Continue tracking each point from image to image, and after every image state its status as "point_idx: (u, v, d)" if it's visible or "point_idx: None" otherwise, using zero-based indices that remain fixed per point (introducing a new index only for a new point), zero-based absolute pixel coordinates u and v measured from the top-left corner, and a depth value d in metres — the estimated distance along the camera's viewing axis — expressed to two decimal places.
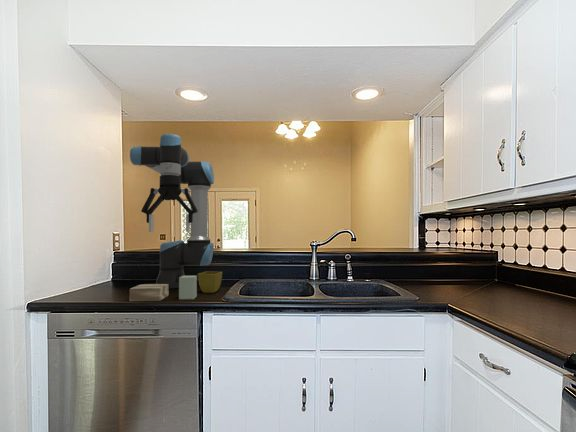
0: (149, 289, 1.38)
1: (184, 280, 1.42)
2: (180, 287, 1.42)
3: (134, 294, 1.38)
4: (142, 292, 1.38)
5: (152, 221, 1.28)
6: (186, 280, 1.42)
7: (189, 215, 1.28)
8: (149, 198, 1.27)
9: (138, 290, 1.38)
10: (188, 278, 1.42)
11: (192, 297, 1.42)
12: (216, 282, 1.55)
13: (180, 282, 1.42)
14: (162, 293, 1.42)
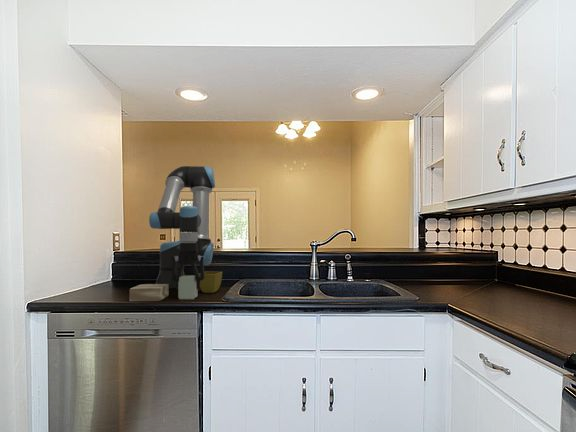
0: (149, 289, 1.38)
1: (184, 280, 1.42)
2: (180, 287, 1.42)
3: (134, 294, 1.38)
4: (142, 292, 1.38)
5: None
6: (186, 280, 1.42)
7: (197, 282, 1.44)
8: (174, 266, 1.44)
9: (138, 290, 1.38)
10: (188, 278, 1.42)
11: (192, 297, 1.42)
12: (216, 282, 1.55)
13: (180, 282, 1.42)
14: (162, 293, 1.42)
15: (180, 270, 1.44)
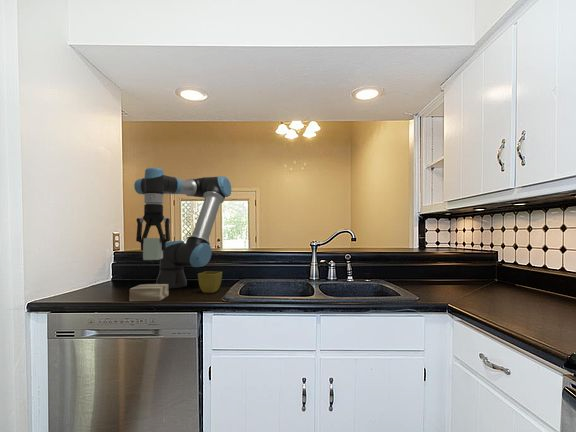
0: (149, 289, 1.38)
1: (149, 241, 1.42)
2: (144, 248, 1.42)
3: (134, 294, 1.38)
4: (142, 292, 1.38)
5: None
6: (151, 241, 1.42)
7: (162, 244, 1.45)
8: (138, 227, 1.44)
9: (138, 290, 1.38)
10: (153, 239, 1.42)
11: (157, 258, 1.42)
12: (216, 282, 1.55)
13: (145, 243, 1.42)
14: (162, 293, 1.42)
15: (145, 231, 1.44)
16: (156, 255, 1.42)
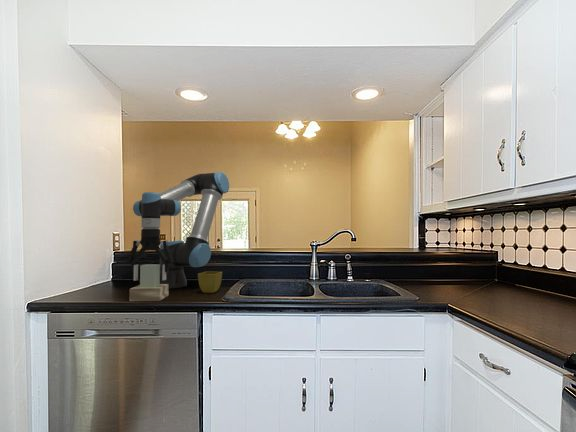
0: (149, 289, 1.38)
1: (145, 268, 1.41)
2: (141, 275, 1.41)
3: (134, 294, 1.38)
4: (142, 292, 1.38)
5: (136, 270, 1.44)
6: (147, 268, 1.41)
7: (165, 265, 1.44)
8: (133, 250, 1.43)
9: (138, 290, 1.38)
10: (149, 266, 1.41)
11: (153, 285, 1.41)
12: (216, 282, 1.55)
13: (141, 270, 1.41)
14: (162, 293, 1.42)
15: (138, 254, 1.43)
16: (153, 282, 1.41)
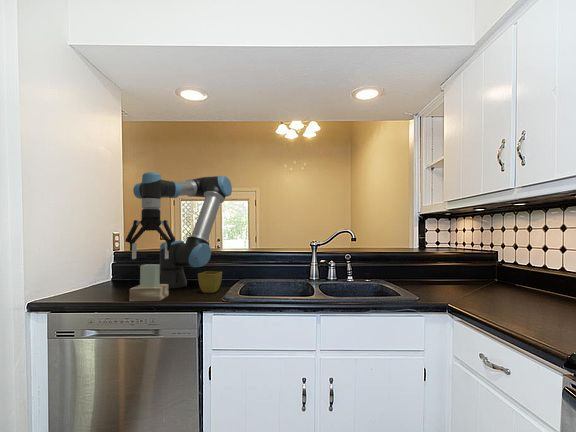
0: (149, 289, 1.38)
1: (145, 268, 1.41)
2: (141, 275, 1.41)
3: (134, 294, 1.38)
4: (142, 292, 1.38)
5: (135, 249, 1.45)
6: (147, 268, 1.41)
7: (167, 244, 1.45)
8: (132, 229, 1.44)
9: (138, 290, 1.38)
10: (149, 266, 1.41)
11: (153, 285, 1.41)
12: (216, 282, 1.55)
13: (141, 270, 1.41)
14: (162, 293, 1.42)
15: (137, 234, 1.44)
16: (153, 282, 1.41)
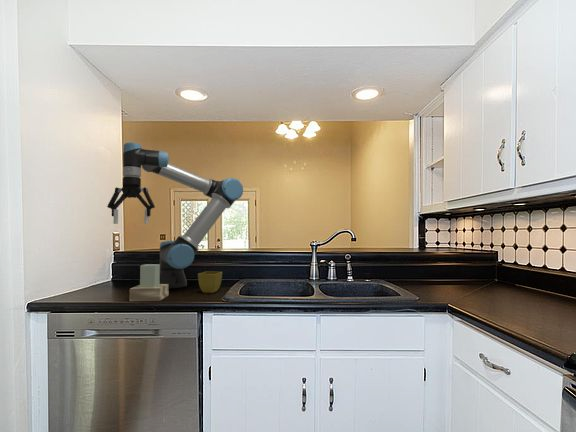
0: (149, 289, 1.38)
1: (145, 268, 1.41)
2: (141, 275, 1.41)
3: (134, 294, 1.38)
4: (142, 292, 1.38)
5: (116, 215, 1.54)
6: (147, 268, 1.41)
7: (147, 210, 1.54)
8: (114, 196, 1.53)
9: (138, 290, 1.38)
10: (149, 266, 1.41)
11: (153, 285, 1.41)
12: (216, 282, 1.55)
13: (141, 270, 1.41)
14: (162, 293, 1.42)
15: (119, 200, 1.53)
16: (153, 282, 1.41)
